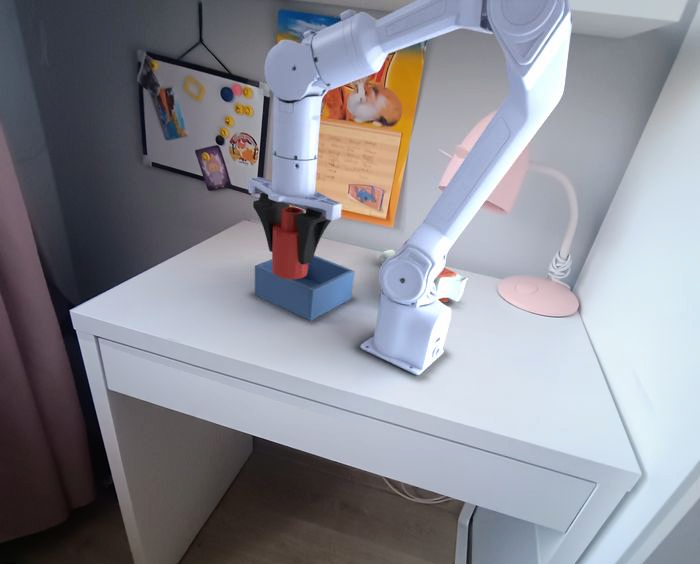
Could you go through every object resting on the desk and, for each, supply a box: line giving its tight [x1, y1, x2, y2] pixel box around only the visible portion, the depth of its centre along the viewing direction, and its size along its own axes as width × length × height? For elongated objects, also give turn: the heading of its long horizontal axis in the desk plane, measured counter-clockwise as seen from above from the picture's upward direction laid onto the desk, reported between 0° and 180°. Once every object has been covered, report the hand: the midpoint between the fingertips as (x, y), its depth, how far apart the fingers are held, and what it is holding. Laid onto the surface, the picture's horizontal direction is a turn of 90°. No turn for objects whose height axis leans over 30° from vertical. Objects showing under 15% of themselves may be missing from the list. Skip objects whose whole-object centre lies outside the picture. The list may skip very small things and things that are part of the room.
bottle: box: [271, 206, 308, 279], centre depth 66 cm, size 5×5×9 cm
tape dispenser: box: [378, 249, 468, 303], centre depth 84 cm, size 18×5×20 cm
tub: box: [254, 254, 355, 322], centre depth 76 cm, size 12×11×5 cm
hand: (290, 255), depth 67 cm, fingers closed on bottle, 5 cm apart
